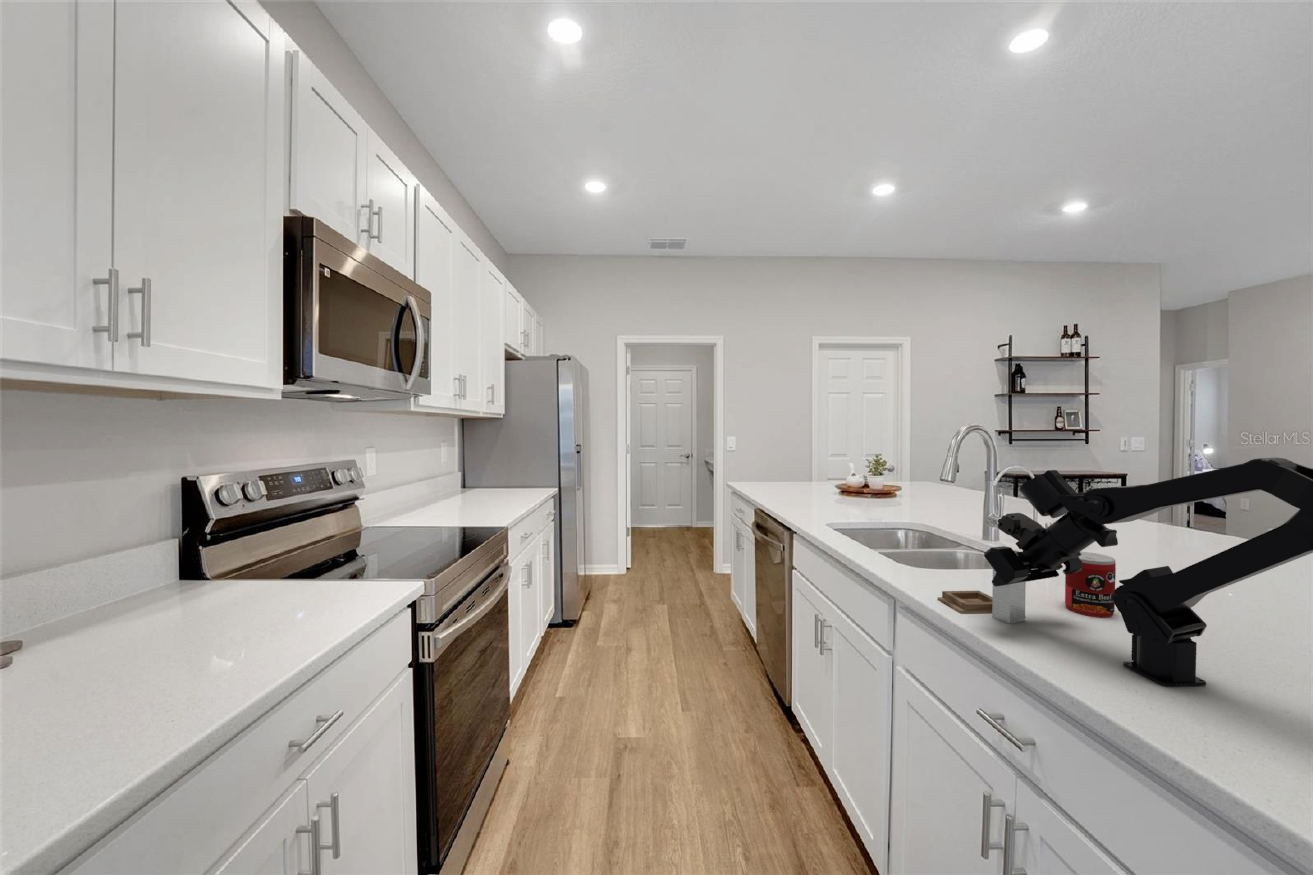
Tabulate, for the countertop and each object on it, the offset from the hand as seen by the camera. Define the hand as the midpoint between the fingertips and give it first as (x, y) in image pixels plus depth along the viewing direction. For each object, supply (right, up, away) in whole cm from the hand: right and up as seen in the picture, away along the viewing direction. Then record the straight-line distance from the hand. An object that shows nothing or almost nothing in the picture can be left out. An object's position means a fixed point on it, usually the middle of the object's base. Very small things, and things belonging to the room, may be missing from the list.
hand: (1001, 582), depth 99 cm
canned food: (+20, -7, +3) cm, 21 cm away
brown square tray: (-2, -6, +6) cm, 9 cm away
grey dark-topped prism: (0, -7, -1) cm, 7 cm away
